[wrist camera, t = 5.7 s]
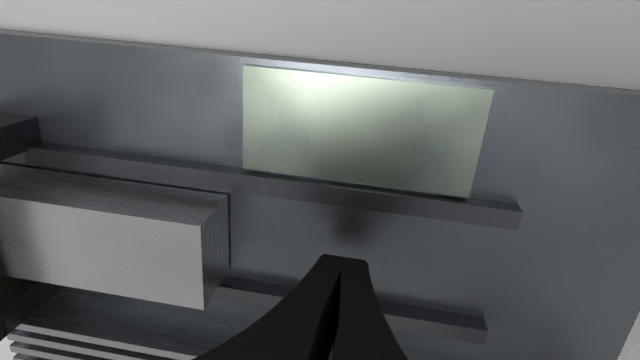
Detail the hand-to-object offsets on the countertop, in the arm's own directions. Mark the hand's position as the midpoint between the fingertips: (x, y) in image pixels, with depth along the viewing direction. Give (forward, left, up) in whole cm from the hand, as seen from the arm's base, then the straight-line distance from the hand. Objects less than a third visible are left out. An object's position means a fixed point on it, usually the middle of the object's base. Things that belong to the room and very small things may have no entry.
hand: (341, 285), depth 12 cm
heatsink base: (+3, 0, -3) cm, 4 cm away
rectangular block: (+9, 0, -2) cm, 9 cm away
